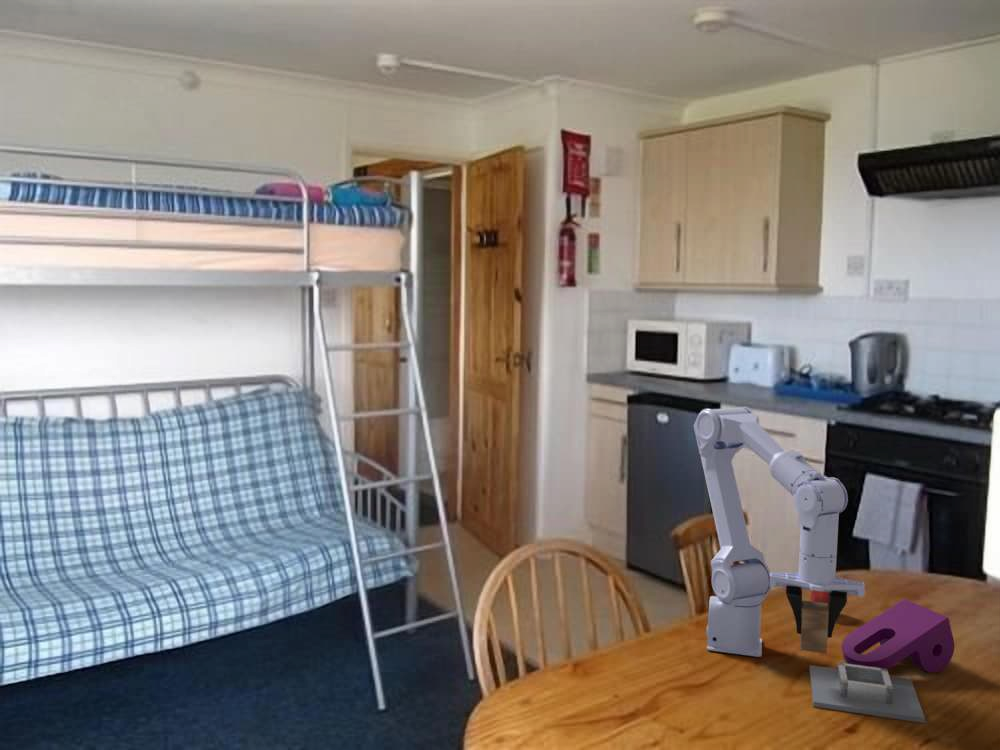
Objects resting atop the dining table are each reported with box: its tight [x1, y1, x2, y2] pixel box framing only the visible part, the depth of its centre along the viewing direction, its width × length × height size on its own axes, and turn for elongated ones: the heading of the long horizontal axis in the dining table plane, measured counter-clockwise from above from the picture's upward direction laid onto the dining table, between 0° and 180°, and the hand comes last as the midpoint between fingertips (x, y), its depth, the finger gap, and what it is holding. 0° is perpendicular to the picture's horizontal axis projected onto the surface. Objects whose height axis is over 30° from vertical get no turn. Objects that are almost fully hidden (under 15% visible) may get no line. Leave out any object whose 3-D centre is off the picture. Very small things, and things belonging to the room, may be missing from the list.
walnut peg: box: [799, 599, 829, 654], centre depth 142 cm, size 4×4×7 cm
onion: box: [809, 590, 829, 609], centre depth 175 cm, size 6×6×8 cm
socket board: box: [809, 662, 926, 724], centre depth 141 cm, size 16×14×3 cm
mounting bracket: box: [841, 598, 955, 673], centre depth 152 cm, size 9×8×18 cm
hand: (813, 633), depth 142 cm, fingers closed on walnut peg, 4 cm apart
